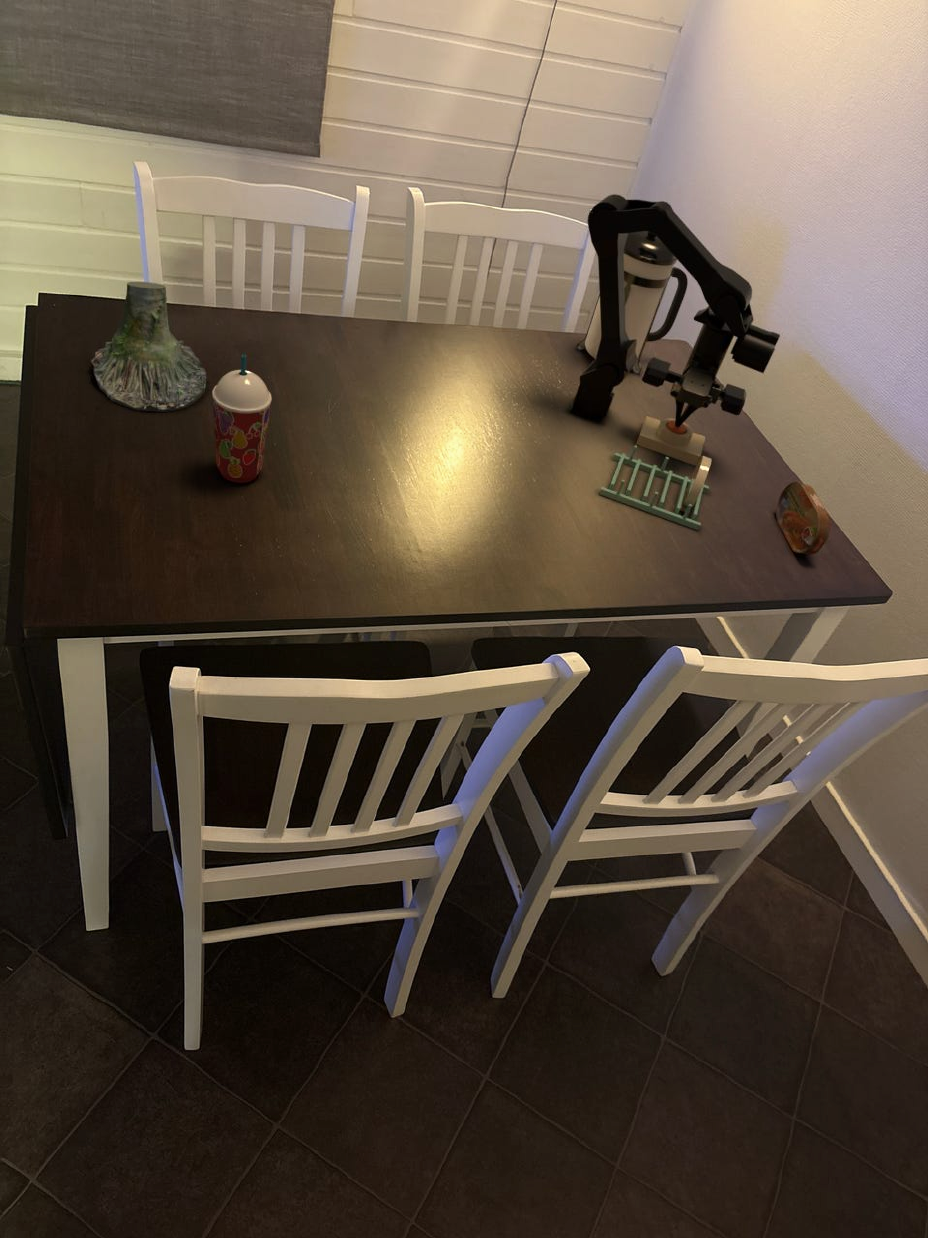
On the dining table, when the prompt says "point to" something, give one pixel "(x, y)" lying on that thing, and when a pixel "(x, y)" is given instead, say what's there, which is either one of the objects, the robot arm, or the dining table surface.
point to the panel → (671, 440)
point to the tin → (802, 518)
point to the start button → (676, 428)
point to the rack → (649, 507)
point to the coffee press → (642, 292)
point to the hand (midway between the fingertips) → (677, 425)
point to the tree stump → (148, 357)
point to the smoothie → (240, 423)
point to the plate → (696, 483)
